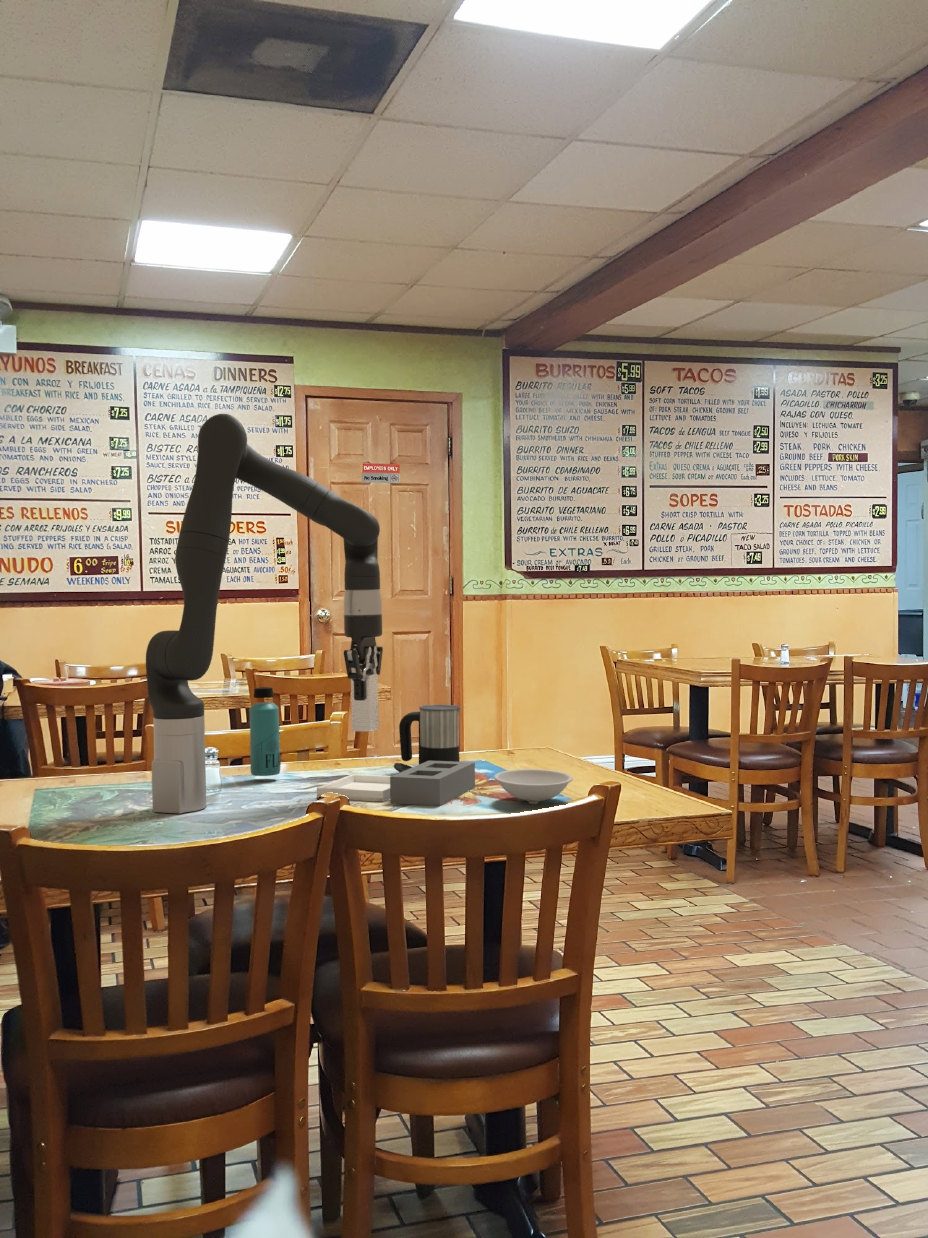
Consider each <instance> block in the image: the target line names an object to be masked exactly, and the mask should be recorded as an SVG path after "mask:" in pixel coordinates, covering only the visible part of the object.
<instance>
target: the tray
mask: <svg viewBox="0 0 928 1238" xmlns="http://www.w3.org/2000/svg"><path fill="white" fill-rule="evenodd" d="M391 776H392V775H375V774H374V775H373V774H356V773H355V774H354V773H352V774H350V775H347V776H344V777H341V778H338V779H336V780H334V781H330V782H328V783H325V784H323V785H320V786H318V787H316V799H320V798H319V797H321V795H322V794H324V793H327V792H333V793H338V794H341V795H345V796H347V797H348V798H349V799H350V800H349V801H364V802H365V801H366V802H385V801H387V800H390V777H391Z"/></svg>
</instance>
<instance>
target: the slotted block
mask: <svg viewBox="0 0 928 1238" xmlns="http://www.w3.org/2000/svg"><path fill="white" fill-rule="evenodd" d="M411 767H412V768H410V769H407V770H405V771H403V772H398V773H396V774H393V775H390V776H391V777H390V799H389V800H390V803H389V804H395V805H397V804H398V805H399V804H400V805H401V804H402V805H415V806H418V805H419V806H434V807H435V806H436V807H441V806H442V805H445V804H446V803H448V802H450V801H452V800H454V799H455V798H457V797H459V796H461V795H462V794H464V793H467V792H468V791H470V790H472V789H474V788H475V787H476V762H474V761H459V762H453V761H427V762H424V763H422V764H419V763H418V764H417V765H415V766H411Z"/></svg>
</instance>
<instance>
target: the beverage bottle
mask: <svg viewBox="0 0 928 1238" xmlns="http://www.w3.org/2000/svg"><path fill="white" fill-rule="evenodd" d="M253 698H255V699H267V698H274V690H273V687H269V686H261V687H260V686H259V687H255V688H254V689H253ZM279 709H280V707H279V706H278V705H276V703H274V702H256V703H253V704H252V705H251V706H250V707H249V709H248V710H249V735H250V736H249V737H250V738H249V739H250V742H249V756H250V759H249V762H250V774H251V776H255V777H269V776H276V775H277V776H278V775H279V774H280V772H281V764H282V762H281V743H280V739H281V738H280V735H281V732H280V728H281V727H280V725H281V724H280V718H279V717H280V715H279V711H280V710H279Z"/></svg>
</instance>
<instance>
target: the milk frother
mask: <svg viewBox="0 0 928 1238" xmlns="http://www.w3.org/2000/svg"><path fill="white" fill-rule="evenodd" d="M418 709H419V711H411V712H409V713H407V714H405V715H404V716H402V718H401V720H400V721H399V724H398V730H399V745H400V757H401V760H402V761H403V762H409V761H411V760H412V758H413V747H412V746H413V745H412V743H413V742H412V723H413V722H418V765H419V764H422V763H424V762H427V761H453V762H460V710H461V706H459V705H455V704H454V705H453V704H426V705H424V704H423V705H421V706H418ZM412 767H413V766H411V765H408V764H405V763H402V762H396V763H394V764H393V768H394V769H395V770H396V771H397V772H398V773H400V772H403V771H405V770H407V769H410V768H412Z"/></svg>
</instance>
